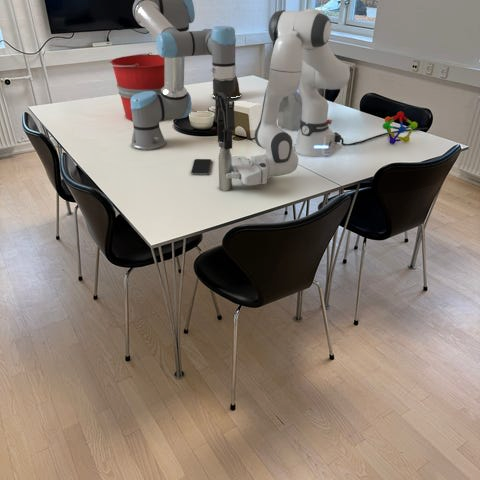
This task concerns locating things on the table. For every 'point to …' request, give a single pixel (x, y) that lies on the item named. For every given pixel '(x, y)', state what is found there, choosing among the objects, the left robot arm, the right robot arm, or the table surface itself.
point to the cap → (221, 142)
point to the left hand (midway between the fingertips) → (224, 145)
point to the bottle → (225, 169)
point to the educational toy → (398, 128)
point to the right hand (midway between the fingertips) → (223, 172)
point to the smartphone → (201, 166)
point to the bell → (234, 93)
